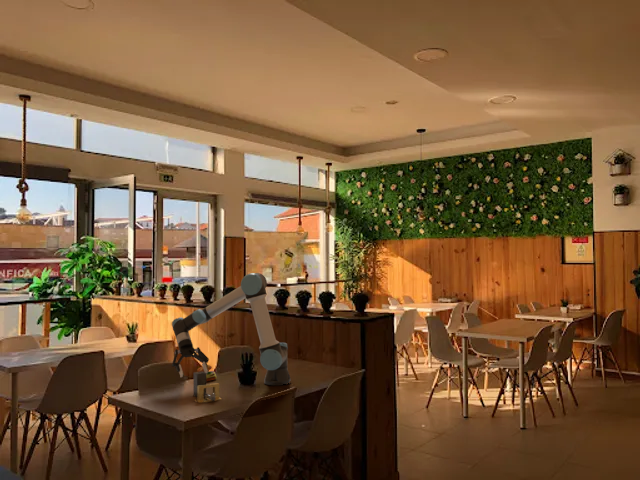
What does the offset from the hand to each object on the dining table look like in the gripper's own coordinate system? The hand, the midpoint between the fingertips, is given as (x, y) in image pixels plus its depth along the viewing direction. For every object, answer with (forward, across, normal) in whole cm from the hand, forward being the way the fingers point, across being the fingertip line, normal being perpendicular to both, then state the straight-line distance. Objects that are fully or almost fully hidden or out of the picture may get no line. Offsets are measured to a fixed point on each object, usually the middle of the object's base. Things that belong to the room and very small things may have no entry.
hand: (194, 374), depth 286 cm
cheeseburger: (-13, -19, -28) cm, 36 cm away
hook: (+16, -1, +2) cm, 17 cm away
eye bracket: (+19, -1, +4) cm, 19 cm away
